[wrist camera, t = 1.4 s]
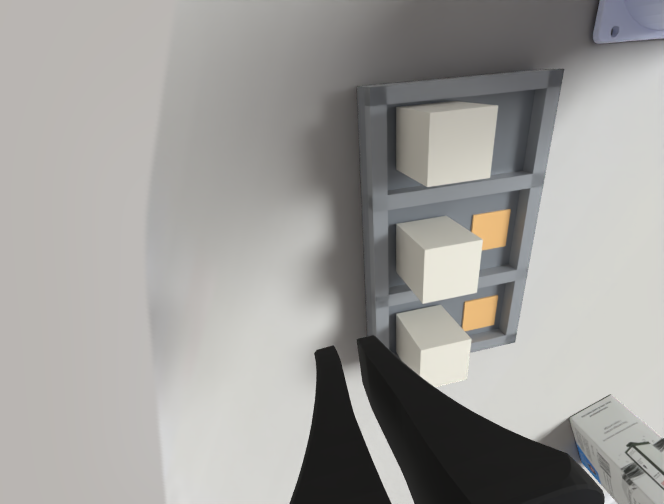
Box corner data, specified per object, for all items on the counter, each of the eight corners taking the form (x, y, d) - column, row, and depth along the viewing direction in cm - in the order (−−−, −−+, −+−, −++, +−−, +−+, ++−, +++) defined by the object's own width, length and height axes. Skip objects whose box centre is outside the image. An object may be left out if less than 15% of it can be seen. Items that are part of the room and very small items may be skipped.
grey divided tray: (535, 69, 20) (564, 68, 18) (496, 325, 27) (514, 342, 26) (356, 86, 18) (369, 87, 16) (368, 354, 26) (377, 374, 24)
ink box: (619, 439, 39) (759, 572, 28) (577, 462, 39) (703, 603, 28) (612, 391, 35) (774, 525, 24) (566, 417, 35) (707, 562, 24)
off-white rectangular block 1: (453, 100, 18) (498, 105, 15) (449, 162, 19) (490, 177, 16) (396, 107, 18) (429, 112, 14) (396, 169, 19) (427, 186, 16)
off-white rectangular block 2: (440, 304, 23) (471, 338, 20) (438, 341, 25) (467, 379, 22) (396, 313, 23) (420, 350, 20) (396, 351, 24) (419, 391, 21)
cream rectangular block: (446, 215, 21) (483, 239, 18) (443, 262, 22) (476, 292, 19) (396, 223, 20) (424, 249, 17) (396, 271, 22) (422, 303, 18)
